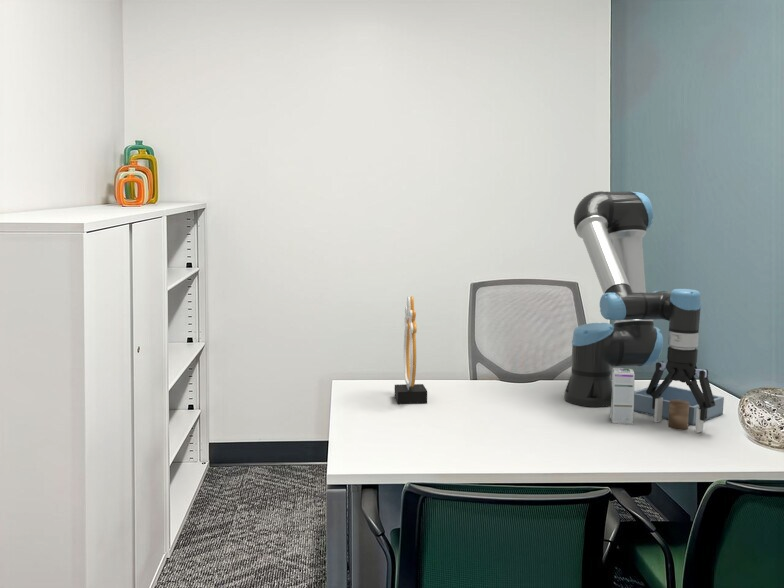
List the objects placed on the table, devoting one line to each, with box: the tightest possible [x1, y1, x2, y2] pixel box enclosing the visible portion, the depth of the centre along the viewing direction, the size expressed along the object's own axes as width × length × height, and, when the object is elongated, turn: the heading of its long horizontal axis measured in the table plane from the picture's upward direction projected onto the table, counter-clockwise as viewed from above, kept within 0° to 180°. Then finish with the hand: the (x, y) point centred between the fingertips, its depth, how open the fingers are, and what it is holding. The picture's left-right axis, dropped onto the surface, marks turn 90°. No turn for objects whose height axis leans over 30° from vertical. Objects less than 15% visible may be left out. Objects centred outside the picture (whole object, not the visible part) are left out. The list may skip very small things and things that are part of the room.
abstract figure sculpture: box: [394, 296, 428, 405], centre depth 232 cm, size 17×9×32 cm, turn 6°
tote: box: [634, 383, 725, 426], centre depth 223 cm, size 20×17×5 cm
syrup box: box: [610, 367, 636, 425], centre depth 214 cm, size 6×6×14 cm
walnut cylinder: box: [667, 399, 689, 431], centre depth 209 cm, size 5×5×7 cm
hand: (678, 426), depth 209 cm, fingers open, 11 cm apart
